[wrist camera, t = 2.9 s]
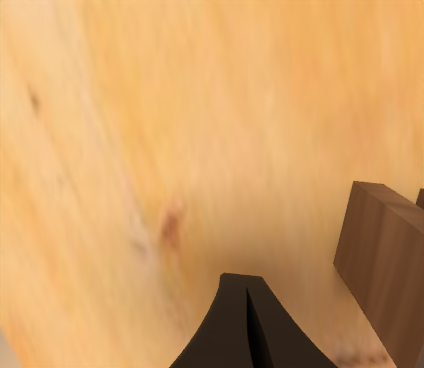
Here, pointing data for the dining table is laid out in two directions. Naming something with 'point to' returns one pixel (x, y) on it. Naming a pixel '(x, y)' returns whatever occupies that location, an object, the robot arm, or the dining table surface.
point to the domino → (386, 267)
